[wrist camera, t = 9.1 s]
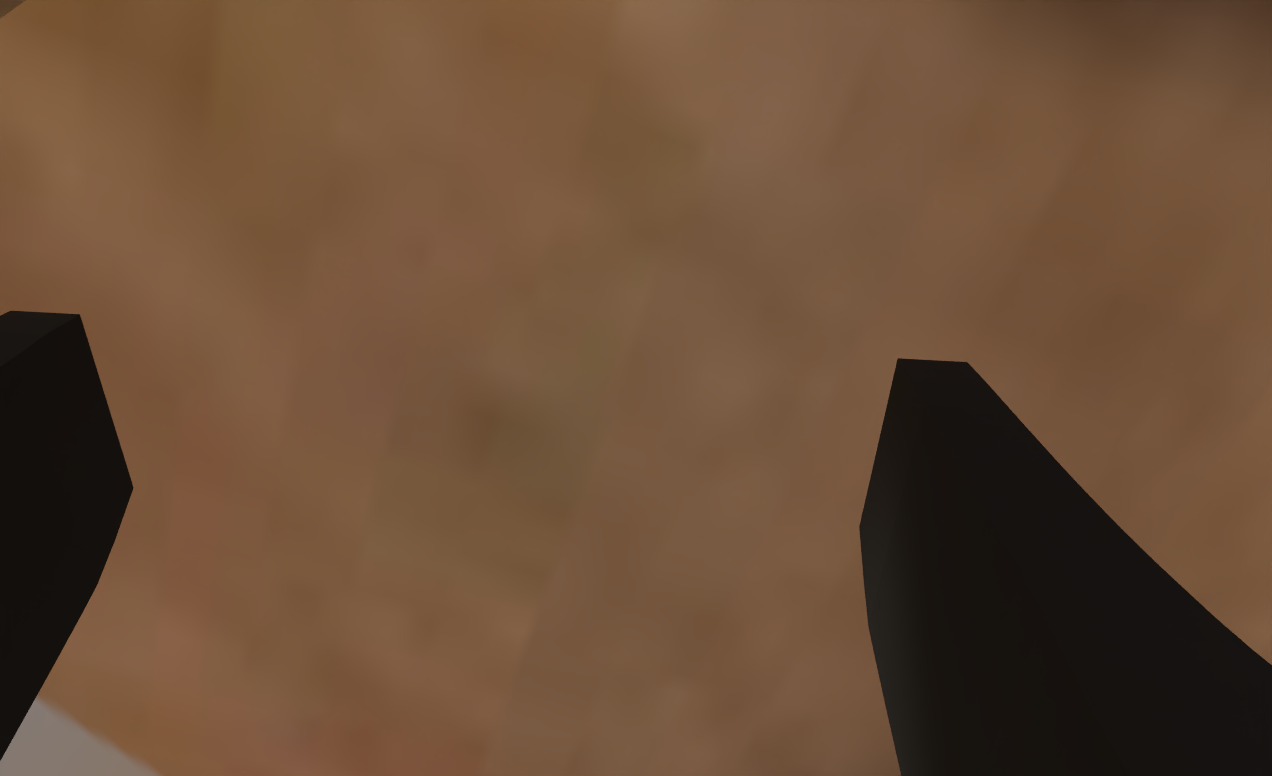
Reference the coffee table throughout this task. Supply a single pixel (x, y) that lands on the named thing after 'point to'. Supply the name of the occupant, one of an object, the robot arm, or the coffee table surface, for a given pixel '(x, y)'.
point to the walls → (8, 6)
